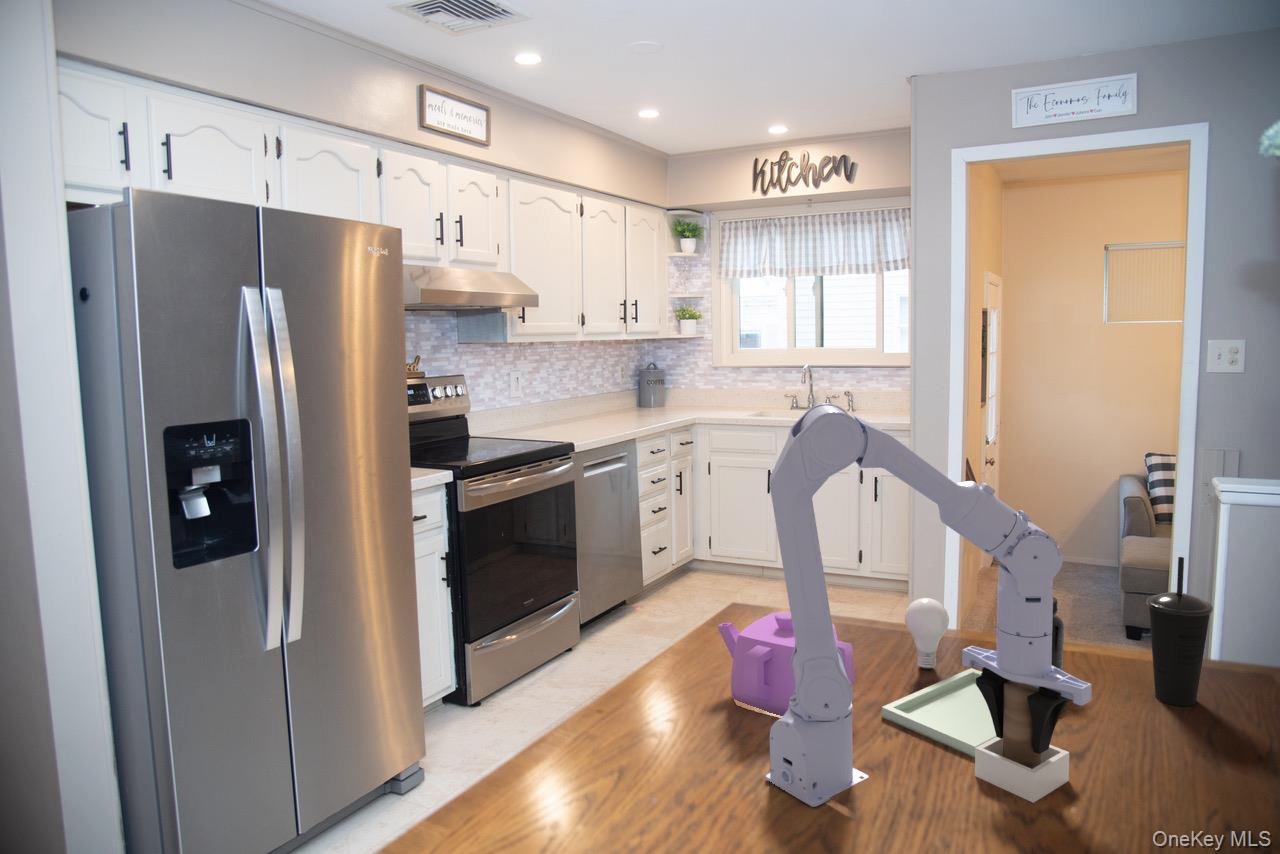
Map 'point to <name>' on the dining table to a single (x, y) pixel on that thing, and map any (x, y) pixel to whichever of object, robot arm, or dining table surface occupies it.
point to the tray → (947, 713)
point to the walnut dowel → (1018, 725)
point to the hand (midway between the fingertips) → (1022, 742)
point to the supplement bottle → (1057, 638)
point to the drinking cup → (1178, 642)
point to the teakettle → (768, 661)
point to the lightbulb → (926, 628)
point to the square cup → (1022, 770)
